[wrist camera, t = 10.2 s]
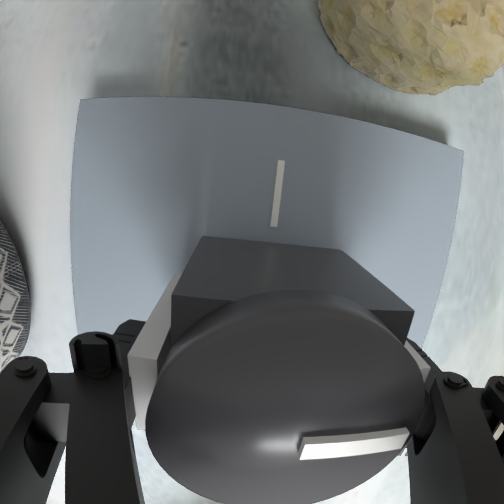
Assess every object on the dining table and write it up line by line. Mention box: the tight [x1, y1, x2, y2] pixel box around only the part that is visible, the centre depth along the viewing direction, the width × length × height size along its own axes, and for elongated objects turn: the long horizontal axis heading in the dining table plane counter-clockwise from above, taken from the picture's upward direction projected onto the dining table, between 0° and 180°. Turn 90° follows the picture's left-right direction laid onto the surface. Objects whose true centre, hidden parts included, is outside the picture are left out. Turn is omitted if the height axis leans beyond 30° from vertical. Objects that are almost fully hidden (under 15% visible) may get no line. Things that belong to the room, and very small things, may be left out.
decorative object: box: [318, 0, 504, 95], centre depth 10 cm, size 9×10×10 cm
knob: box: [145, 236, 425, 504], centre depth 10 cm, size 7×7×8 cm
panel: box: [70, 97, 464, 349], centre depth 14 cm, size 20×18×6 cm
